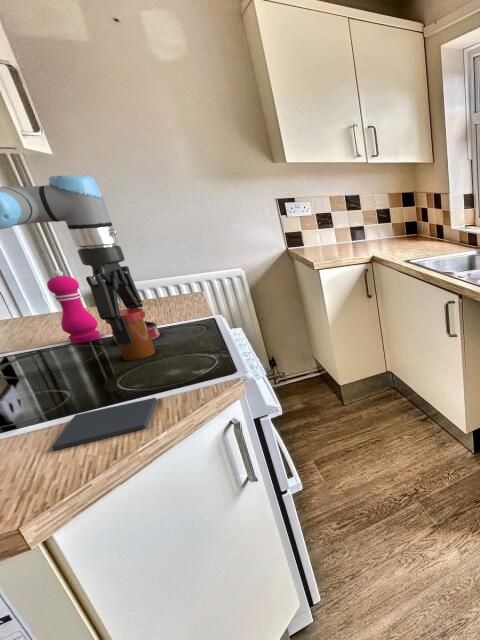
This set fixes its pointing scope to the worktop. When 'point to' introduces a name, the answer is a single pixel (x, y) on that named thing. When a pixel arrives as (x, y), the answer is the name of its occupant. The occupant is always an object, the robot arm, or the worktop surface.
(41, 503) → the worktop surface
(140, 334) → the jar
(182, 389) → the worktop surface
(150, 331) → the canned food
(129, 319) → the lid
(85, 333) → the pepper mill
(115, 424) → the mat
